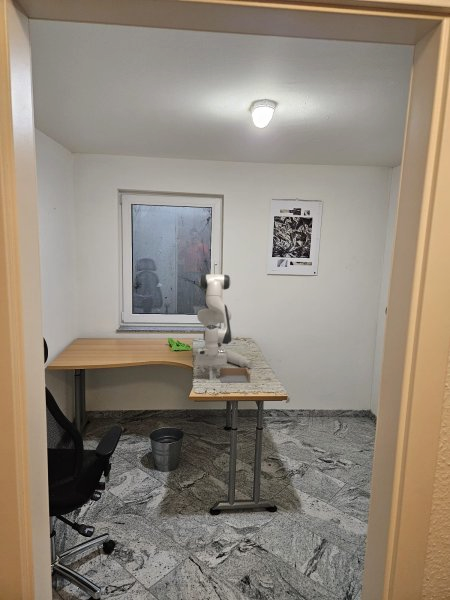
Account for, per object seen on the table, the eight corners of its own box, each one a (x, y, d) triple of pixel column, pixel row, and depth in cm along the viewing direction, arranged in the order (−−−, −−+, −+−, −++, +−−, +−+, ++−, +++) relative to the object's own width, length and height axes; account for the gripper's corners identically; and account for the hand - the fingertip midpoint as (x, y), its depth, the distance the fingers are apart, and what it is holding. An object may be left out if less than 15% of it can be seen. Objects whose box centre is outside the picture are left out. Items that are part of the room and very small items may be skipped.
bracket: (209, 376, 237) (209, 367, 236) (215, 376, 237) (215, 367, 237) (209, 380, 228) (209, 371, 227) (216, 380, 228) (216, 371, 228)
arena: (219, 376, 237) (220, 367, 236) (247, 375, 238) (247, 367, 238) (221, 382, 224) (221, 373, 223) (250, 382, 226) (250, 373, 225)
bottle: (216, 356, 272) (243, 367, 249) (222, 345, 274) (249, 355, 251) (224, 361, 277) (251, 372, 254) (229, 351, 279) (256, 361, 256)
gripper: (227, 349, 234) (226, 370, 236) (195, 349, 233) (195, 370, 234) (227, 351, 228) (227, 373, 229) (195, 351, 226) (195, 373, 228)
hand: (210, 371), depth 232 cm, fingers open, 8 cm apart
